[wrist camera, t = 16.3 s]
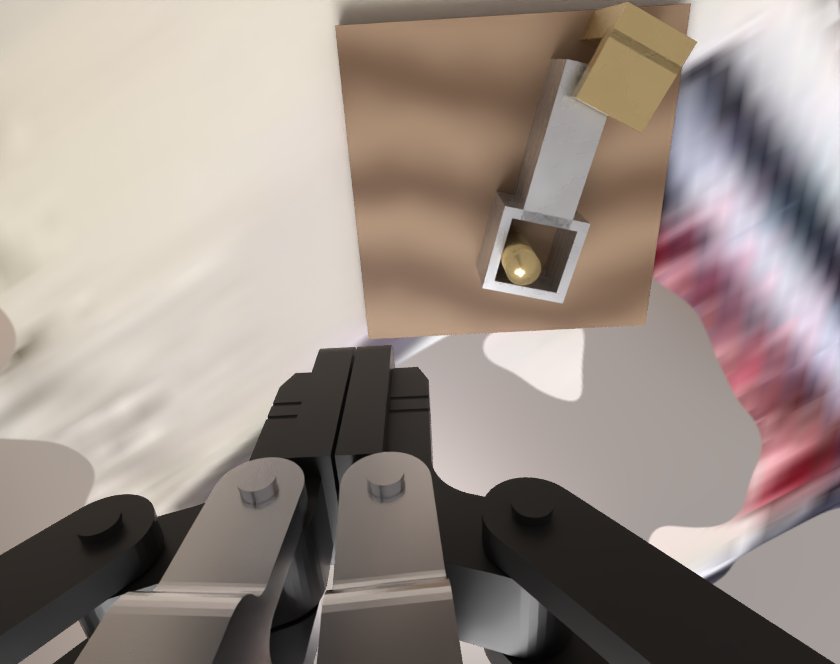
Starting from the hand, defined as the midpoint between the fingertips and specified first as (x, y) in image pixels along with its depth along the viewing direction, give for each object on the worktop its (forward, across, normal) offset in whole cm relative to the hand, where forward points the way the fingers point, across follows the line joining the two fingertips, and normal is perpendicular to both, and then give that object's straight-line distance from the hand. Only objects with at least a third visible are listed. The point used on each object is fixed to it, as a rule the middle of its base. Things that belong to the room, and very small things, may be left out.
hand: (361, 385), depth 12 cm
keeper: (+26, -12, -5) cm, 29 cm away
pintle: (+26, -7, +5) cm, 27 cm away
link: (+26, -9, +1) cm, 27 cm away
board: (+27, -7, +2) cm, 28 cm away
